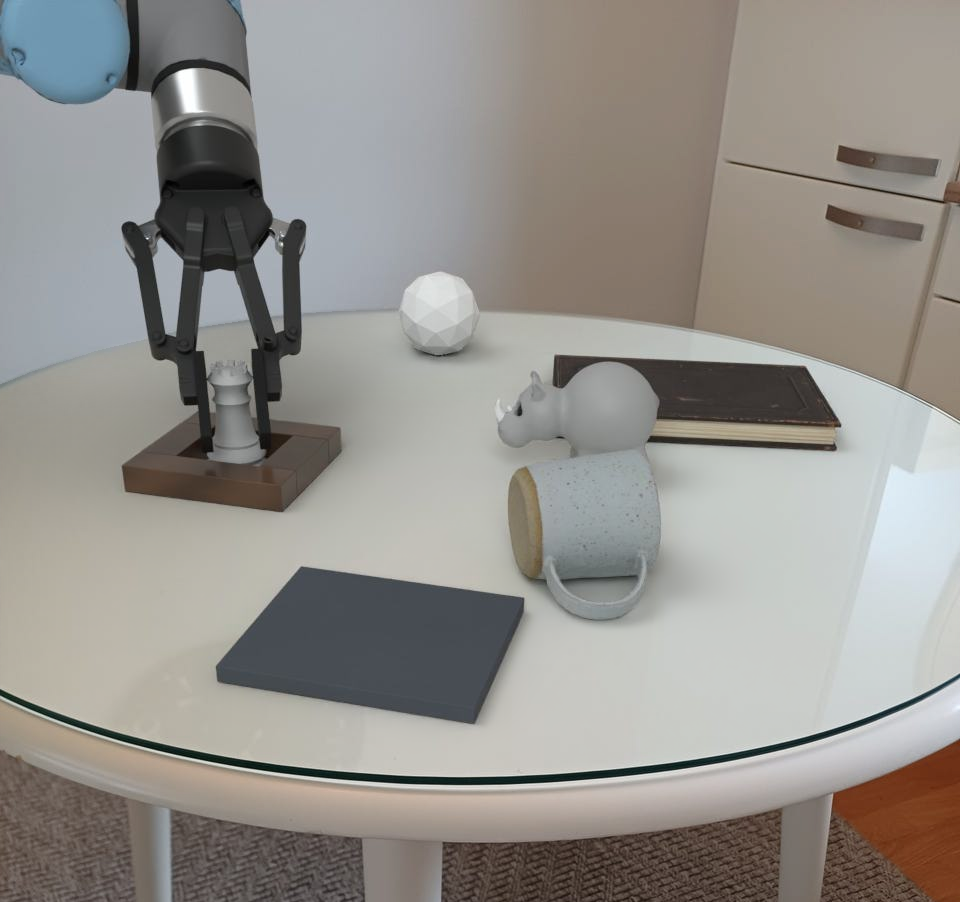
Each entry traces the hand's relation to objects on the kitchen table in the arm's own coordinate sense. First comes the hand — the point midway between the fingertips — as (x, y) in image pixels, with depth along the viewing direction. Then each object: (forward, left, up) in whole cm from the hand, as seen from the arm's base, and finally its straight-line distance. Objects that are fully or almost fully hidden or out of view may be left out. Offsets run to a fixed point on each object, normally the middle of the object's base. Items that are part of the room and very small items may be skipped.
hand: (236, 442), depth 79 cm
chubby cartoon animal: (+22, +10, -4) cm, 25 cm away
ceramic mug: (+26, -7, -4) cm, 27 cm away
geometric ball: (+4, +37, -4) cm, 38 cm away
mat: (+16, -18, -4) cm, 24 cm away
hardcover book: (+29, +27, -4) cm, 40 cm away
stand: (-2, +3, -4) cm, 5 cm away
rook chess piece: (-2, +3, -4) cm, 5 cm away
